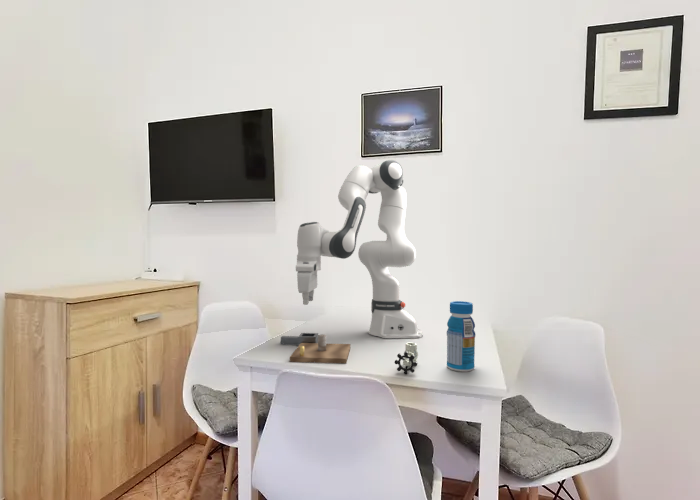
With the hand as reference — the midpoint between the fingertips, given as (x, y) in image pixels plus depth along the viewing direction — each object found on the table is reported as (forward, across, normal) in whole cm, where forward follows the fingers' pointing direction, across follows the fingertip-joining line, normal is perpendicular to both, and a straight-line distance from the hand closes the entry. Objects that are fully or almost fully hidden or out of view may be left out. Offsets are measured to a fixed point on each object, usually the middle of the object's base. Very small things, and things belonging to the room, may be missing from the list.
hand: (308, 302), depth 146 cm
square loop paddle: (+16, 0, -3) cm, 16 cm away
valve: (+16, +24, +36) cm, 46 cm away
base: (+16, +13, +7) cm, 22 cm away
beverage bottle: (+16, +23, +51) cm, 58 cm away
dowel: (+16, +20, +2) cm, 25 cm away
